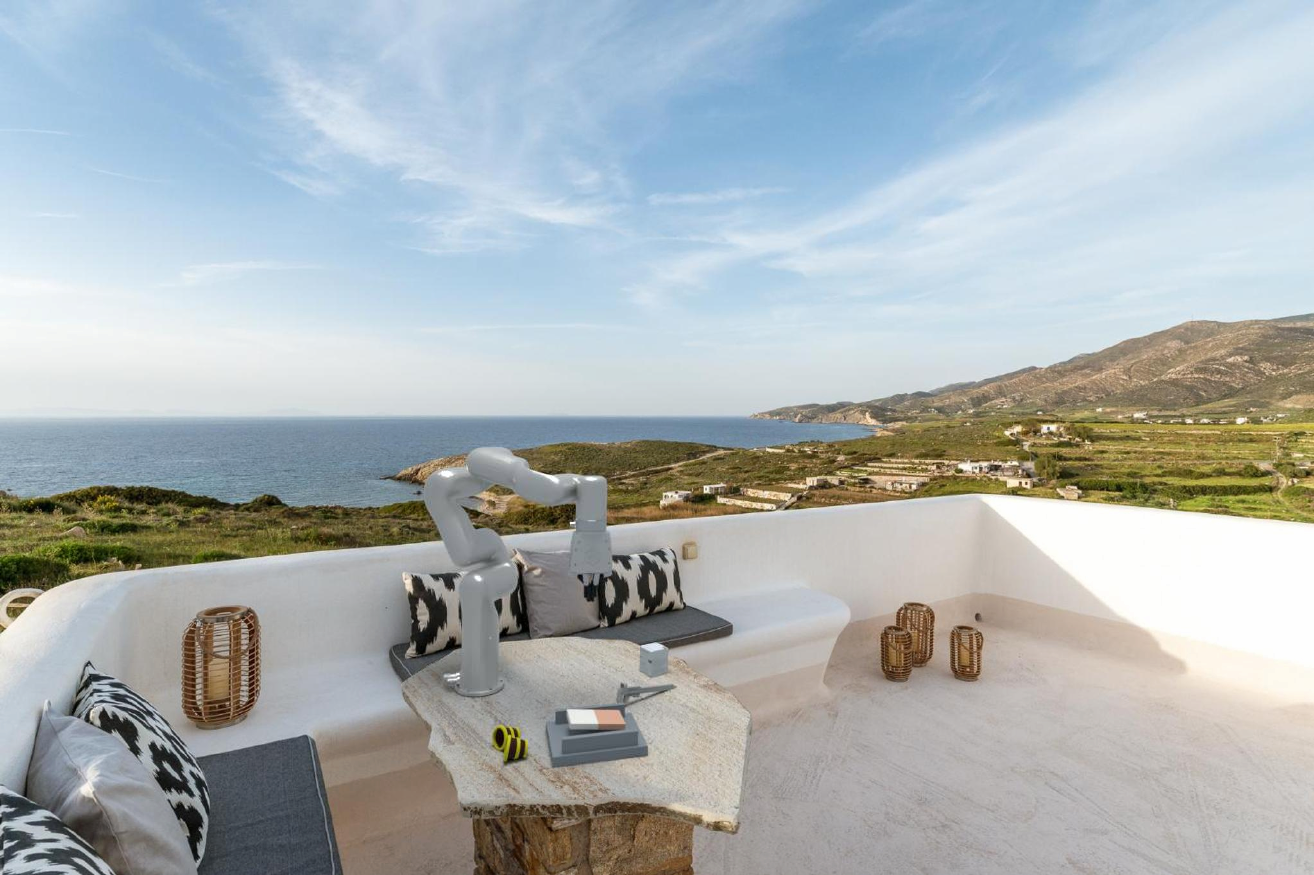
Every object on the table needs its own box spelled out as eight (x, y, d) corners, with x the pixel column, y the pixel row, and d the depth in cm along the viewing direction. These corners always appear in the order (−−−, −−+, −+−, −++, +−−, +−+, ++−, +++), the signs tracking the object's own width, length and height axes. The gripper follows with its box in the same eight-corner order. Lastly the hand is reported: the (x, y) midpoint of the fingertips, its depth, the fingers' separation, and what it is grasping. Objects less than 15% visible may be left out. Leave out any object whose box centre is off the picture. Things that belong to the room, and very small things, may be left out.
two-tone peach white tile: (570, 729, 130) (570, 723, 130) (566, 714, 137) (566, 709, 137) (624, 729, 133) (625, 724, 133) (618, 715, 140) (619, 710, 140)
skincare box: (638, 671, 176) (639, 645, 176) (655, 666, 180) (656, 641, 180) (651, 678, 172) (651, 651, 172) (668, 673, 175) (668, 647, 175)
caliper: (618, 710, 151) (619, 685, 151) (616, 709, 152) (616, 684, 152) (677, 688, 165) (677, 665, 165) (674, 687, 166) (674, 664, 166)
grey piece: (552, 767, 125) (553, 742, 125) (545, 730, 140) (546, 708, 140) (647, 755, 130) (648, 731, 130) (631, 721, 145) (631, 700, 145)
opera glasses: (527, 764, 128) (532, 740, 128) (503, 766, 125) (508, 741, 125) (512, 744, 136) (517, 721, 136) (489, 745, 133) (494, 721, 134)
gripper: (562, 529, 145) (561, 606, 145) (624, 527, 149) (622, 603, 149) (558, 524, 152) (557, 598, 152) (617, 523, 156) (616, 595, 156)
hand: (590, 600), depth 151 cm, fingers closed
